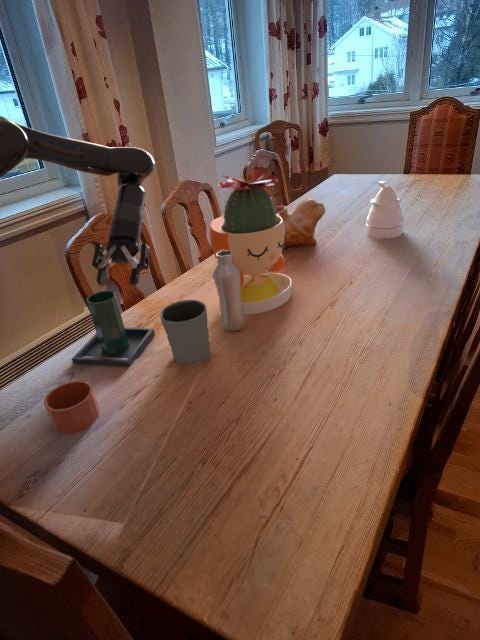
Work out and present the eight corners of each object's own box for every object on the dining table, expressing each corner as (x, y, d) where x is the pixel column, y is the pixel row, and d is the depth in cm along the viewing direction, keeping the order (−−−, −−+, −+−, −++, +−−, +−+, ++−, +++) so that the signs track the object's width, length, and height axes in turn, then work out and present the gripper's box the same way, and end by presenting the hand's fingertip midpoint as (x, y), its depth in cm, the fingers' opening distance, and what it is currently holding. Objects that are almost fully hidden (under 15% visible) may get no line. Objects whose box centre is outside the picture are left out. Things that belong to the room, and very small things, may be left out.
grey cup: (221, 349, 100) (215, 304, 94) (195, 373, 93) (186, 325, 87) (188, 340, 105) (180, 296, 100) (160, 361, 98) (150, 316, 92)
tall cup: (97, 355, 103) (80, 303, 96) (110, 340, 108) (95, 290, 102) (121, 356, 101) (106, 303, 94) (133, 341, 107) (120, 290, 100)
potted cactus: (306, 292, 121) (302, 163, 104) (246, 322, 110) (231, 183, 93) (256, 273, 137) (245, 158, 119) (199, 298, 125) (178, 175, 108)
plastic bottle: (247, 333, 105) (239, 256, 96) (220, 335, 106) (209, 259, 96) (247, 320, 111) (238, 246, 101) (221, 322, 111) (210, 249, 102)
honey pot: (359, 235, 157) (361, 185, 148) (375, 225, 165) (377, 177, 156) (393, 240, 149) (397, 187, 140) (408, 229, 157) (412, 179, 149)
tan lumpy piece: (332, 242, 154) (332, 200, 146) (262, 255, 150) (258, 213, 142) (317, 231, 166) (316, 192, 158) (252, 243, 162) (248, 203, 154)
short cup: (44, 433, 81) (34, 409, 78) (70, 402, 89) (61, 379, 86) (85, 437, 79) (76, 412, 76) (108, 405, 87) (100, 382, 84)
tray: (73, 365, 101) (71, 358, 100) (104, 333, 113) (102, 326, 112) (130, 369, 97) (128, 361, 96) (155, 335, 109) (153, 328, 108)
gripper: (93, 218, 107) (82, 279, 103) (146, 216, 103) (136, 279, 99) (109, 231, 114) (99, 289, 110) (158, 230, 110) (150, 290, 106)
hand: (116, 284), depth 105 cm, fingers open, 8 cm apart
